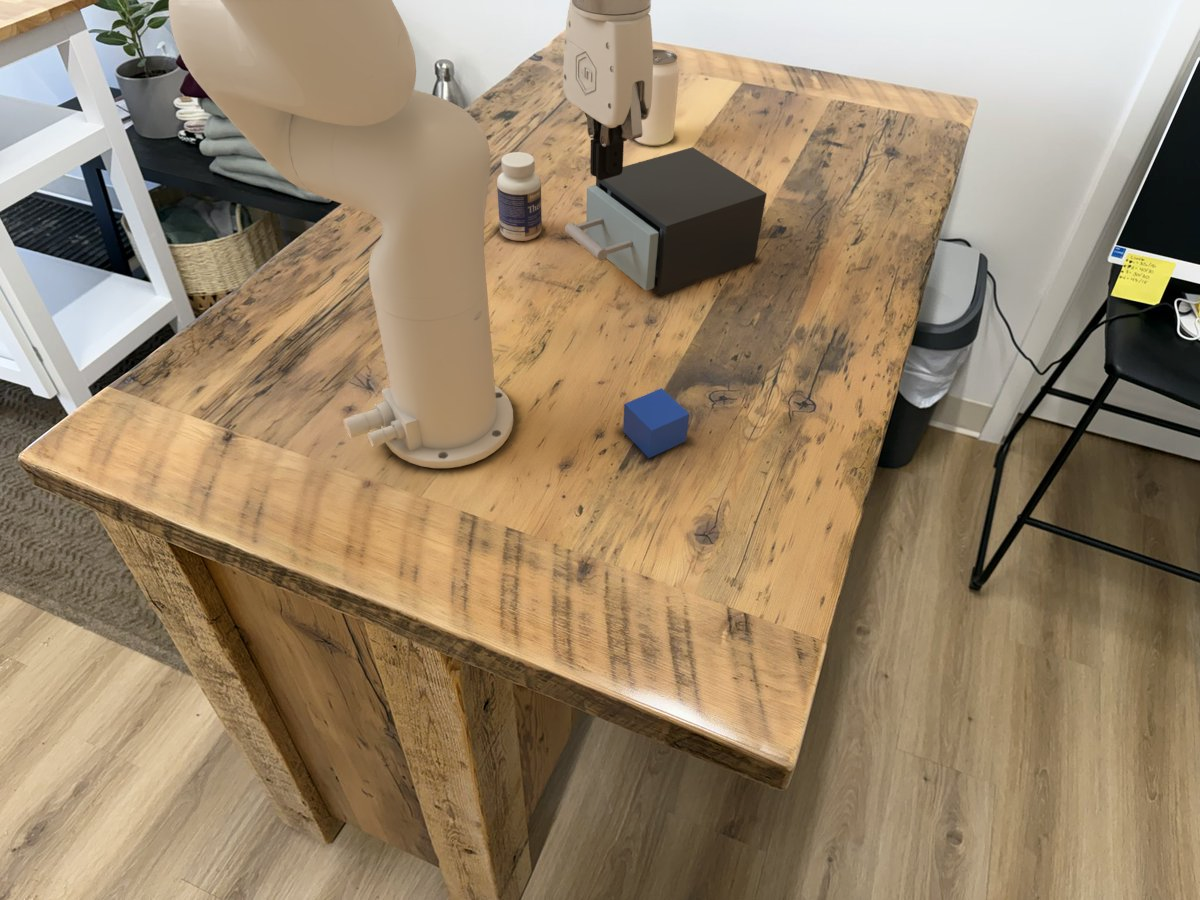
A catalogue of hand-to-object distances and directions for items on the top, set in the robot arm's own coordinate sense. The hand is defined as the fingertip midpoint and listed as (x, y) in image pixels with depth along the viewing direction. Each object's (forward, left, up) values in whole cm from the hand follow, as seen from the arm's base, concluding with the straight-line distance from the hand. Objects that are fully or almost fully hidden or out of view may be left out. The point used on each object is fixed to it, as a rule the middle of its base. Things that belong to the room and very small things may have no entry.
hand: (606, 174), depth 92 cm
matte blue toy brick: (-11, -26, -13) cm, 31 cm away
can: (+28, +28, -13) cm, 41 cm away
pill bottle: (-3, +14, -13) cm, 19 cm away
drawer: (+6, 0, -12) cm, 13 cm away
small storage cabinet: (+11, 0, -13) cm, 17 cm away
